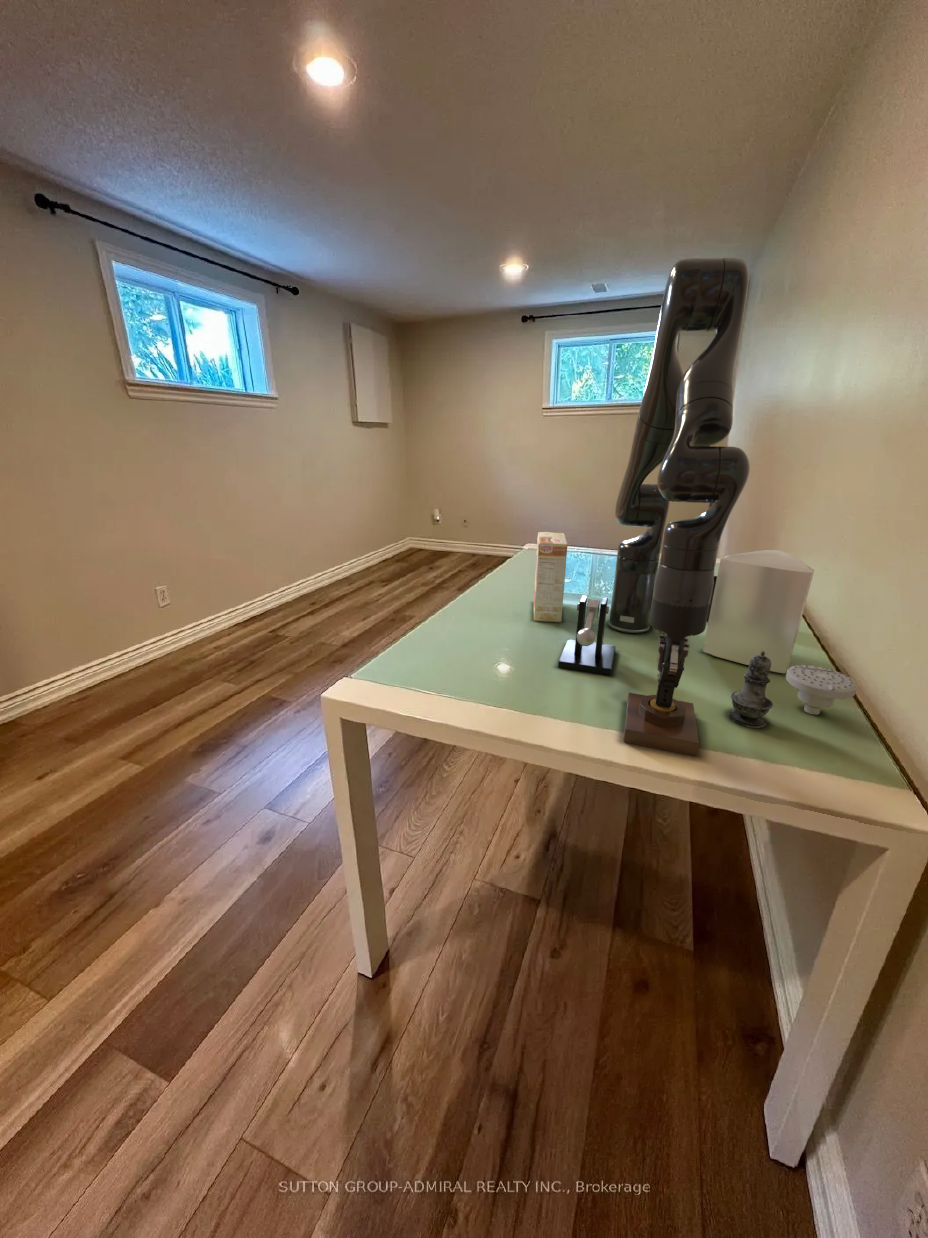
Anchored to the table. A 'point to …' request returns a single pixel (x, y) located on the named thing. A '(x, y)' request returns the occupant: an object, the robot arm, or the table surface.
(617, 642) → the table surface
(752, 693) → the salt shaker
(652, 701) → the button
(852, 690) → the showerhead
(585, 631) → the lever
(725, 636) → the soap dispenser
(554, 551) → the coffeecake box
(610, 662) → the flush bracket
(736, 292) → the robot arm
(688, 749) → the button block
